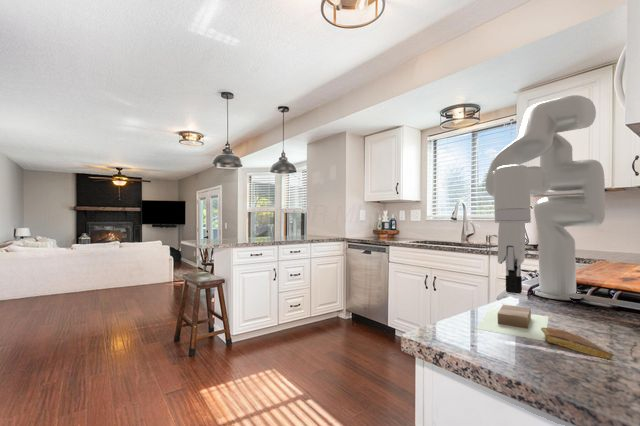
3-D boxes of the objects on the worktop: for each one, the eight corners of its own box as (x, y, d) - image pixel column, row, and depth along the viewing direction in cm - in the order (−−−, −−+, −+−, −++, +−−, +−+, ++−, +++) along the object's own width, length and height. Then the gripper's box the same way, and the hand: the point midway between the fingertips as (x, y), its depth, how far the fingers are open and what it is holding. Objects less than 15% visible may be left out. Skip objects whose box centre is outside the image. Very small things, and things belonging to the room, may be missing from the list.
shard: (613, 363, 57) (614, 353, 57) (565, 356, 58) (566, 346, 58) (574, 339, 68) (575, 331, 68) (534, 334, 69) (535, 325, 69)
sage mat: (490, 310, 89) (490, 308, 89) (548, 318, 81) (548, 316, 81) (476, 331, 74) (476, 328, 74) (545, 343, 66) (545, 340, 66)
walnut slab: (503, 304, 84) (497, 313, 77) (530, 308, 80) (527, 317, 73) (503, 314, 84) (497, 323, 77) (530, 318, 80) (527, 328, 73)
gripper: (499, 216, 87) (501, 284, 87) (489, 217, 75) (491, 296, 75) (532, 216, 82) (534, 288, 82) (527, 217, 70) (529, 301, 70)
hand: (513, 292), depth 78 cm, fingers closed
